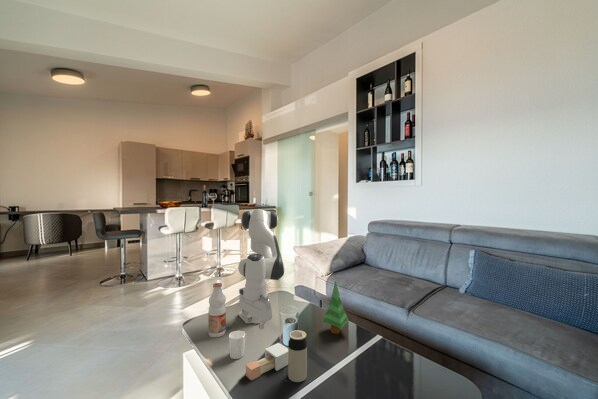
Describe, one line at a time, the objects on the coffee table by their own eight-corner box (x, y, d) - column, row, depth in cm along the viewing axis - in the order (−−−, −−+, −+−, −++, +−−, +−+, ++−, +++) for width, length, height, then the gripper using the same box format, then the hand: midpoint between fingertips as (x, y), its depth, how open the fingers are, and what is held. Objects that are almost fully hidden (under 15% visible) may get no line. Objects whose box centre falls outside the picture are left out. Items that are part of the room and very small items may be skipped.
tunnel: (265, 361, 121) (265, 348, 121) (278, 354, 126) (278, 342, 126) (276, 370, 114) (276, 357, 114) (290, 363, 120) (290, 350, 120)
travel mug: (292, 385, 106) (292, 340, 106) (285, 373, 113) (285, 331, 113) (309, 379, 109) (310, 336, 109) (302, 368, 116) (302, 328, 116)
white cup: (239, 348, 132) (239, 328, 132) (248, 355, 126) (248, 334, 126) (225, 355, 126) (225, 334, 126) (234, 362, 121) (234, 340, 121)
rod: (254, 371, 115) (254, 362, 115) (286, 355, 126) (286, 347, 127) (259, 375, 112) (259, 366, 112) (291, 359, 123) (291, 350, 124)
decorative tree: (339, 324, 159) (339, 275, 159) (352, 337, 144) (352, 282, 144) (319, 327, 154) (319, 277, 155) (330, 341, 139) (330, 285, 140)
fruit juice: (208, 330, 150) (209, 282, 150) (225, 328, 152) (225, 280, 153) (207, 339, 141) (208, 287, 141) (225, 336, 143) (226, 285, 144)
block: (245, 375, 111) (245, 365, 111) (254, 370, 114) (254, 360, 115) (251, 380, 108) (251, 370, 108) (260, 376, 111) (260, 365, 111)
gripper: (275, 297, 107) (275, 330, 106) (248, 285, 122) (248, 315, 121) (263, 300, 102) (263, 336, 102) (236, 288, 117) (236, 319, 117)
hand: (255, 324), depth 112 cm, fingers open, 8 cm apart
